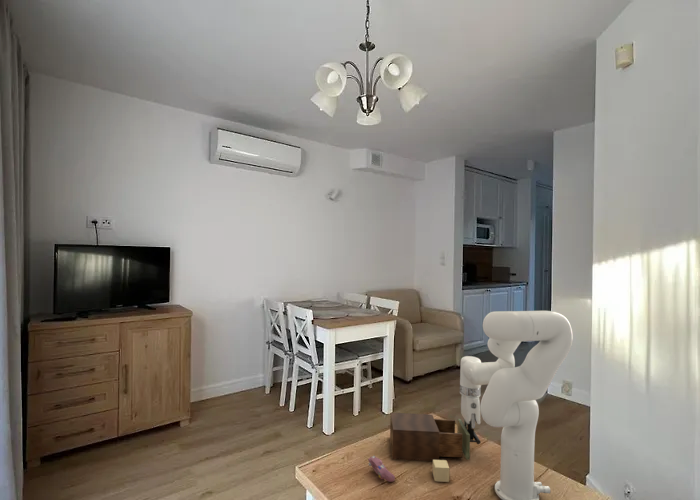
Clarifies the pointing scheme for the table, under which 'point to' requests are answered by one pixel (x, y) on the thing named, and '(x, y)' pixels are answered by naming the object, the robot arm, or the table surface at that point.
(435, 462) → the block
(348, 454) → the table surface
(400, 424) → the cabinet
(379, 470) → the pink rounded piece
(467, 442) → the drawer
